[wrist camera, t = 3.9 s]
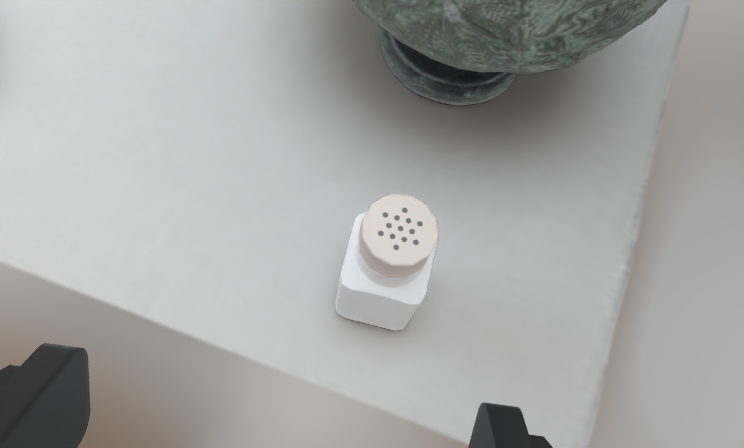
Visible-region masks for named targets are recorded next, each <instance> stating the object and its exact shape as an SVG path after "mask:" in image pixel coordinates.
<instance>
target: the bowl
mask: <svg viewBox="0 0 744 448" xmlns="http://www.w3.org/2000/svg"><path fill="white" fill-rule="evenodd" d="M353 1H354V2H355V4H356V5H357V6H358V8H359V9H360V10H361V11H362V12H363V13H364V14H366V15H367V16H369V17H370V18H371V19H373V20H374V21H375V22H376V23H378V24H379V25H380V28H379V45H380V49H381V51H382V54H383V57H384V60H385V62H386V63H387V65H388V66H389V68H390V70H391V71H392V72H393V74H394V75H395V76H396V77H397V78H398V79H399V80H400V81H401V82H402V83H403V84H404V85H405V86H406V87H408V88H409V89H411V90H412V91H414V92H415V93H417V94H419V95H421V96H423V97H426V98H428V99H431V100H435V101H438V102H441V103H446V104H451V105H469V104H476V103H481V102H485V101H488V100H490V99H493V98H495V97H497V96H498V95H500V94H501V93H502V92H504V91H505V90H506V89H507V88H508V87H509V86H510V85H511V84H512V82H513V80H514V78H515V77H516V75H517V73H518V74H527V75H528V74H533V73H539V72H544V71H548V70H555V69H563V68H568V67H570V66H572V65H574V64H576V63H578V62H580V61H581V60H582V59H584V58H585V57H586V56H588V55H590V54H592V53H594V52H597V51H599V50H601V49H603V48H604V47H606V46H608V45H609V44H611V43H613V42H614V41H616V40H617V39H619V38H620V37H622V36H623V35H624V34H626V33H627V32H628V31H630V30H632V29H633V28H635V27H636V26H638V25H640V24H642V23H643V22H644V21H646V20H647V19H649V18H650V17H651V16H653V15H654V14H655V13H656V11H657V10H658V9H659V8H660V7H661V6H662V5H663V4H664V3H665V2H666V1H667V0H353Z"/></svg>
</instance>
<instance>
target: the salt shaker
mask: <svg viewBox="0 0 744 448" xmlns="http://www.w3.org/2000/svg"><path fill="white" fill-rule="evenodd" d="M437 241H438V226H437V219H436V218H435V217H434V215H433V214H432V212H431V211H430V209H429V208H428V206H427V205H426V204H425V203H423V202H421V201H419V200H417V199H415V198H413V197H412V196H410V195H387V196H385V197H383V198H381V199H379V200H377V201H375V202H373V203H372V204H371V205H370V207H369V209H368V210H367V212H365V213H361V214H360V215H359V216H358V217H357V218H356V219H355V221H354V224H353V228H352V231H351V235H350V239H349V242H348V246H347V250H346V254H345V257H344V261H343V265H342V269H341V273H340V277H339V284H338V290H337V296H336V302H335V307H336V313H338V314H339V315H340V316H342V317H343V318H347V319H351V320H355V321H359V322H363V323H366V324H370V325H374V326H378V327H382V328H386V329H390V330H394V331H395V330H402V329H403V328H404V327H405V325H406V324H407V323H408V321H409V320H410V318H411V317H412V315H413V314H414V312H415V311H416V310H417V308H418V307H419V305H420V304H421V302H422V301H423V299H424V298H425V296H426V292H427V288H428V283H429V279H430V274H431V270H432V265H433V260H434V254H435V249H436V243H437Z"/></svg>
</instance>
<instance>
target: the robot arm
mask: <svg viewBox="0 0 744 448" xmlns="http://www.w3.org/2000/svg"><path fill="white" fill-rule="evenodd" d="M89 416H90V395H89V371H88V355H87V352H86V350H85V349H84V348H79V347H71V346H63V345H56V344H49V343H44V344H42V345H40V346H39V347H38V348H37V349H36V350H35V351H34V353H33V354H32V355H31V356H30V357H29V358H28V359H27V360H26V361H25V362H24V363H23V364H22V365H21V366H12V365H9V366H7V367H6V368H3V369H2V370H0V448H77V447H78V445H79V444H80V442H81V440H82V438H83V436H84V434H85V432H86V429H87V425H88V421H89ZM468 448H553V447H552V446H551V445H550V444H549V442H548V441H547V440H546V439H545V438H544V437H543V436H535V435H529V434H528V430H527V427H526V424H525V421H524V418H523V415H522V412H521V410H520V408H519V407H513V406H506V405H498V404H491V403H482V404H481V405H480V407H479V410H478V413H477V417H476V421H475V425H474V428H473V432H472V436H471V440H470V443H469V447H468Z"/></svg>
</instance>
